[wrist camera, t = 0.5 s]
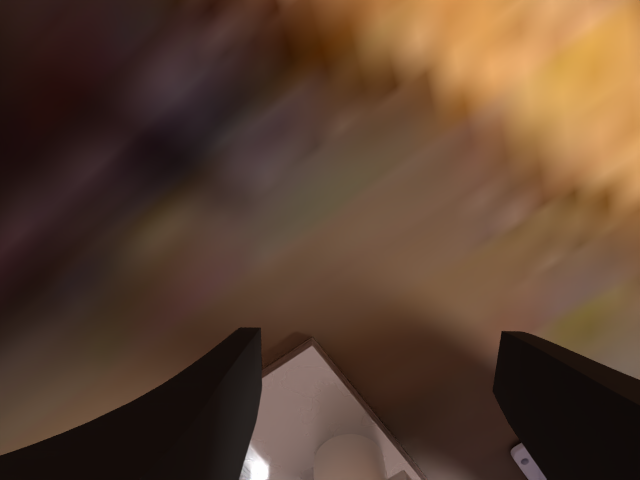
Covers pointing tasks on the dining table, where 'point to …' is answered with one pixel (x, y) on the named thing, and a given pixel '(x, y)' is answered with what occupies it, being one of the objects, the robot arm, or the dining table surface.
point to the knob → (352, 460)
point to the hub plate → (312, 419)
